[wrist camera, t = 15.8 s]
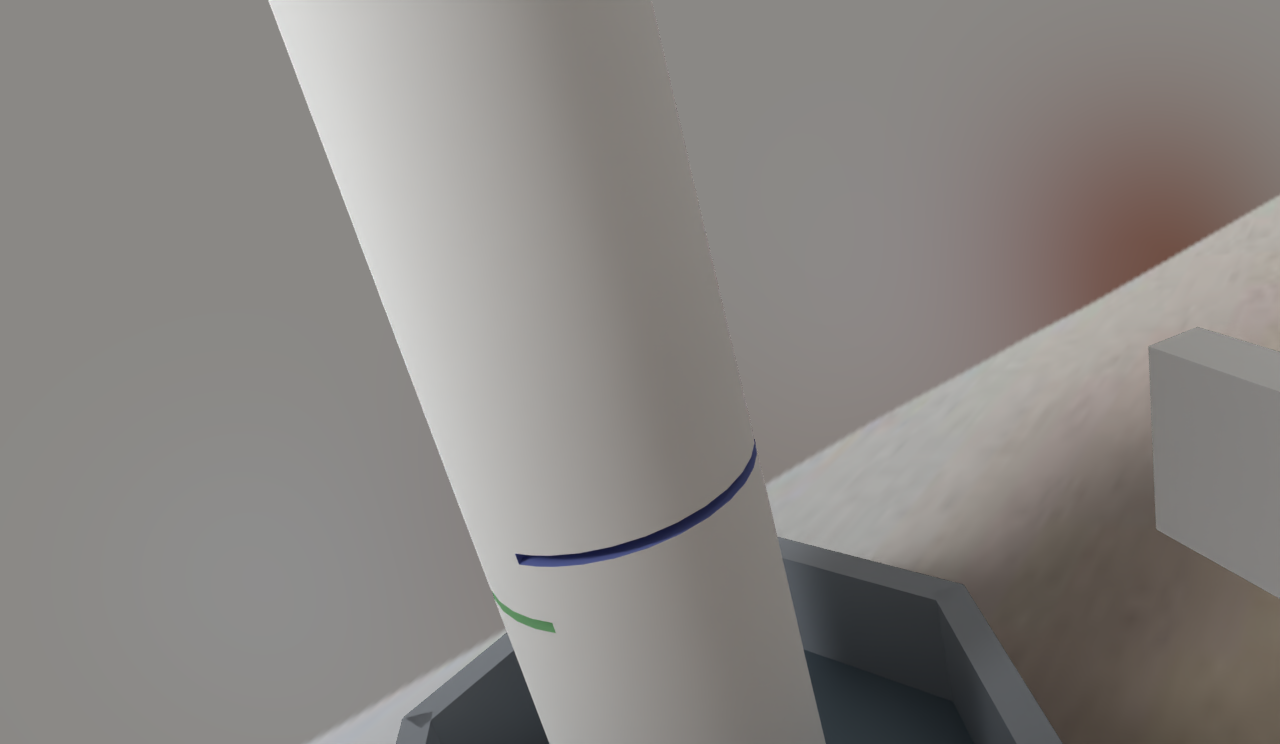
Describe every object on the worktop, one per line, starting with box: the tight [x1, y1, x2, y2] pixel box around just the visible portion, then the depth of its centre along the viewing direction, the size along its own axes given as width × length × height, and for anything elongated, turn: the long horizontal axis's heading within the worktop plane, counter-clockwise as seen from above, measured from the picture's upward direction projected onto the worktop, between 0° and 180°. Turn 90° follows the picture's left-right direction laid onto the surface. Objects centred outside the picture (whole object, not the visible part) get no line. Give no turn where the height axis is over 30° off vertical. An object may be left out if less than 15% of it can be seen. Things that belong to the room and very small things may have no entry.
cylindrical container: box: [268, 0, 826, 744], centre depth 23 cm, size 7×7×25 cm
